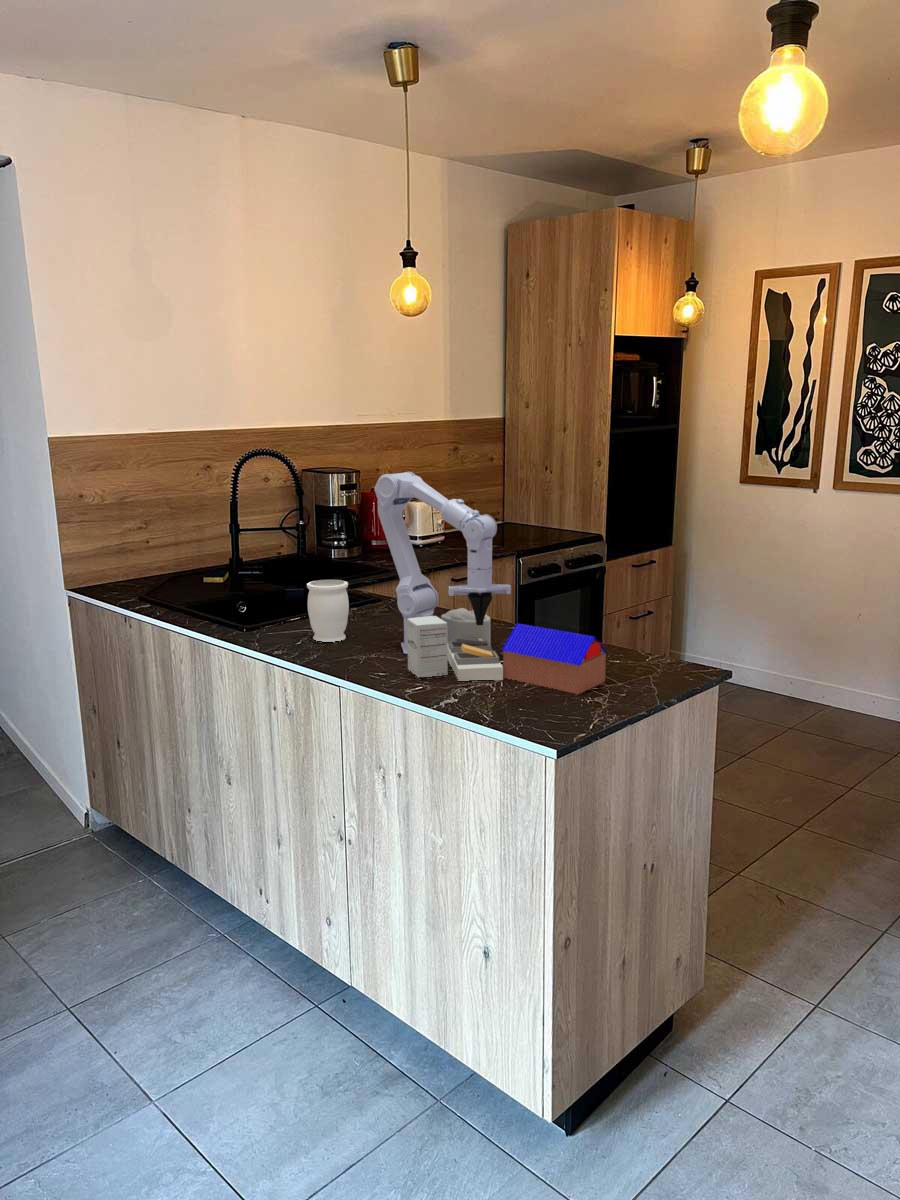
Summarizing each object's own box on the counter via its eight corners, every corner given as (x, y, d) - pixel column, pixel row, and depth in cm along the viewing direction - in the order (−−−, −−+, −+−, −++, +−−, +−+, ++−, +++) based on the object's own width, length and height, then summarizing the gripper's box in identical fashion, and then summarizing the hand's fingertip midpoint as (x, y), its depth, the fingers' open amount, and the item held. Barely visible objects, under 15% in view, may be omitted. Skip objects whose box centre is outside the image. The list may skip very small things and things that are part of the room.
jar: (302, 643, 236) (300, 585, 233) (317, 633, 246) (315, 578, 242) (341, 645, 233) (339, 587, 230) (355, 635, 243) (353, 579, 240)
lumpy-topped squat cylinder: (464, 635, 243) (464, 603, 241) (500, 644, 233) (500, 611, 232) (435, 643, 235) (435, 610, 234) (472, 652, 226) (471, 618, 225)
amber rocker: (460, 647, 209) (462, 643, 209) (489, 655, 210) (490, 651, 210) (463, 651, 206) (464, 647, 205) (492, 659, 207) (493, 655, 207)
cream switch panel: (445, 655, 224) (445, 638, 223) (486, 653, 225) (486, 636, 224) (458, 682, 202) (458, 663, 202) (503, 680, 204) (503, 661, 203)
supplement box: (407, 671, 211) (406, 617, 208) (437, 667, 214) (436, 614, 211) (417, 680, 204) (416, 624, 202) (448, 676, 207) (448, 621, 204)
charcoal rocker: (454, 638, 219) (454, 634, 219) (482, 642, 220) (483, 638, 220) (456, 642, 215) (457, 638, 215) (485, 646, 216) (486, 641, 216)
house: (531, 666, 215) (531, 618, 212) (606, 682, 202) (608, 631, 200) (501, 679, 205) (501, 628, 203) (579, 696, 193) (580, 642, 191)
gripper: (451, 571, 209) (451, 629, 212) (513, 569, 211) (513, 627, 214) (447, 566, 216) (447, 622, 219) (507, 564, 218) (507, 620, 221)
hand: (479, 624), depth 217 cm, fingers closed
